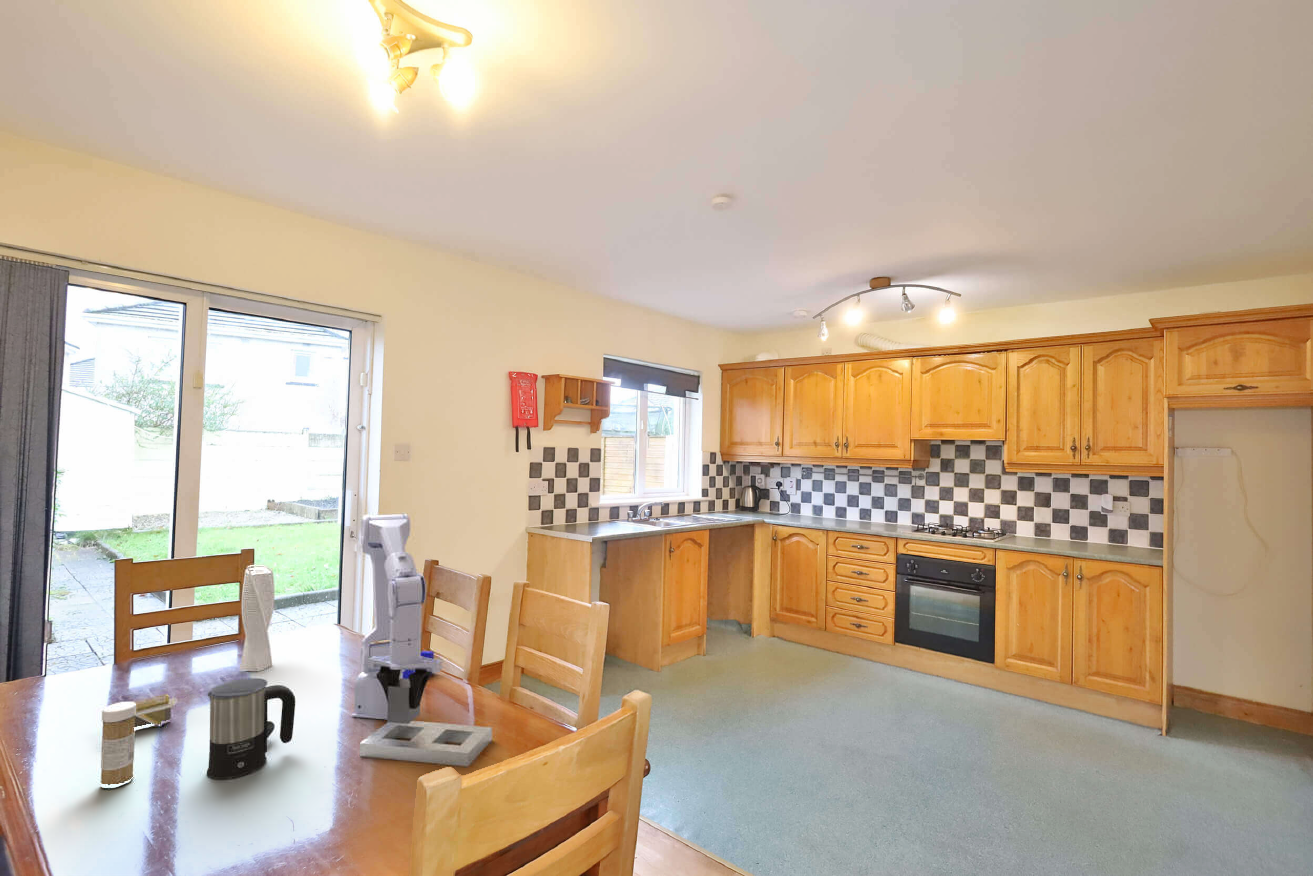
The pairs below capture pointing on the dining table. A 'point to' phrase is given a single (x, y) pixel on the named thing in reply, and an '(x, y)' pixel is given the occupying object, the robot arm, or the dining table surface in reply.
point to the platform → (154, 710)
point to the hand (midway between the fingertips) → (404, 706)
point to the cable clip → (424, 654)
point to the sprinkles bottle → (118, 743)
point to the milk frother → (244, 725)
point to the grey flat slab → (427, 742)
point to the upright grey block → (401, 703)
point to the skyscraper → (257, 617)
